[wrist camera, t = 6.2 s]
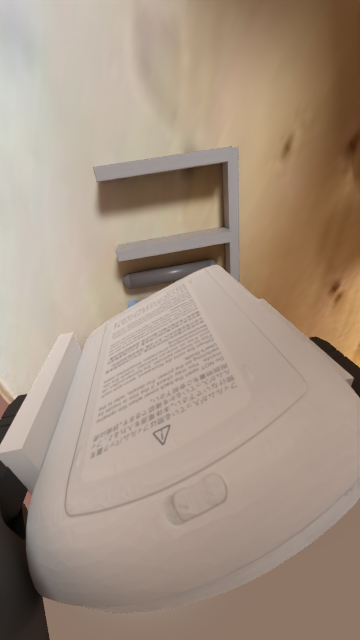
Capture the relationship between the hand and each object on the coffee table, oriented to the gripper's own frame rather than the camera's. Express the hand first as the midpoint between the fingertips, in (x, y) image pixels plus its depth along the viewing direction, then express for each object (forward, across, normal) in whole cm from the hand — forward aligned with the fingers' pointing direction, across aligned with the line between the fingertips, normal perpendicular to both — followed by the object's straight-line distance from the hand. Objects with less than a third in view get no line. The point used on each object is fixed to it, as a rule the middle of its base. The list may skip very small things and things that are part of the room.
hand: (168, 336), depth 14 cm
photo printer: (+3, 0, 0) cm, 3 cm away
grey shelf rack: (+20, +3, -3) cm, 21 cm away
